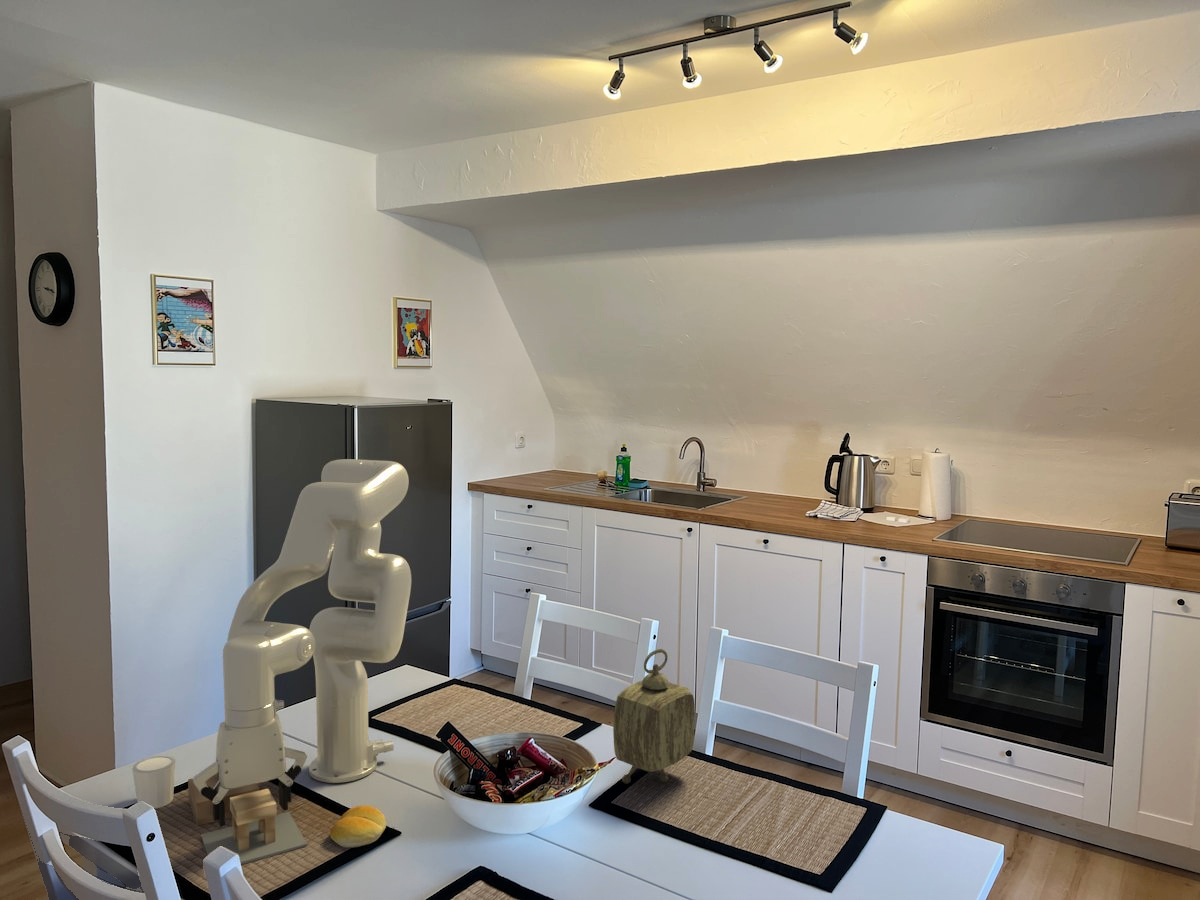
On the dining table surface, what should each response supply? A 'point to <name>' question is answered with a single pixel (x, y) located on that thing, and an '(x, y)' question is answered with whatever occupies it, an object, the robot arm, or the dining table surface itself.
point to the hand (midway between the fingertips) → (252, 814)
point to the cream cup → (155, 780)
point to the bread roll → (358, 827)
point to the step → (205, 806)
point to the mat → (258, 839)
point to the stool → (253, 816)
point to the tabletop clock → (653, 723)
